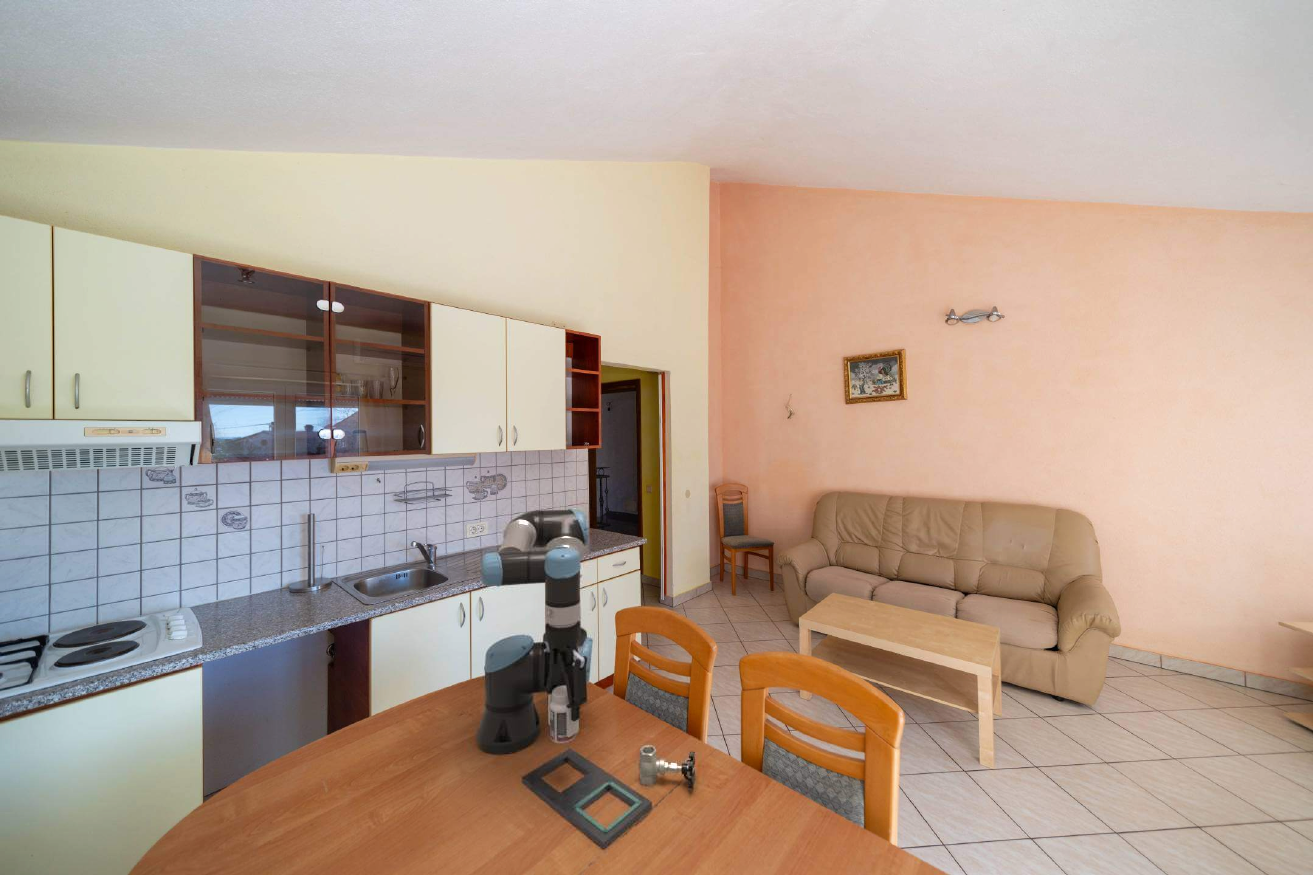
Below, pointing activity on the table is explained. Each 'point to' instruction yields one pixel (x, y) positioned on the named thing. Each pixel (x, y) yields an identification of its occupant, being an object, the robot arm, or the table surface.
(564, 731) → the pill bottle
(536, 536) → the robot arm
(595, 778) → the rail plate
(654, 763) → the valve
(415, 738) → the table surface
